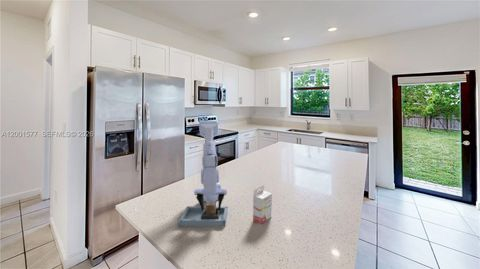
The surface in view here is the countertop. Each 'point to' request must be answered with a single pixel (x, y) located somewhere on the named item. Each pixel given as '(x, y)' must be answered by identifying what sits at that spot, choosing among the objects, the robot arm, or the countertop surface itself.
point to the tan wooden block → (211, 208)
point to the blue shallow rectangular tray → (203, 217)
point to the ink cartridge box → (261, 205)
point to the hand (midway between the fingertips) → (211, 209)
